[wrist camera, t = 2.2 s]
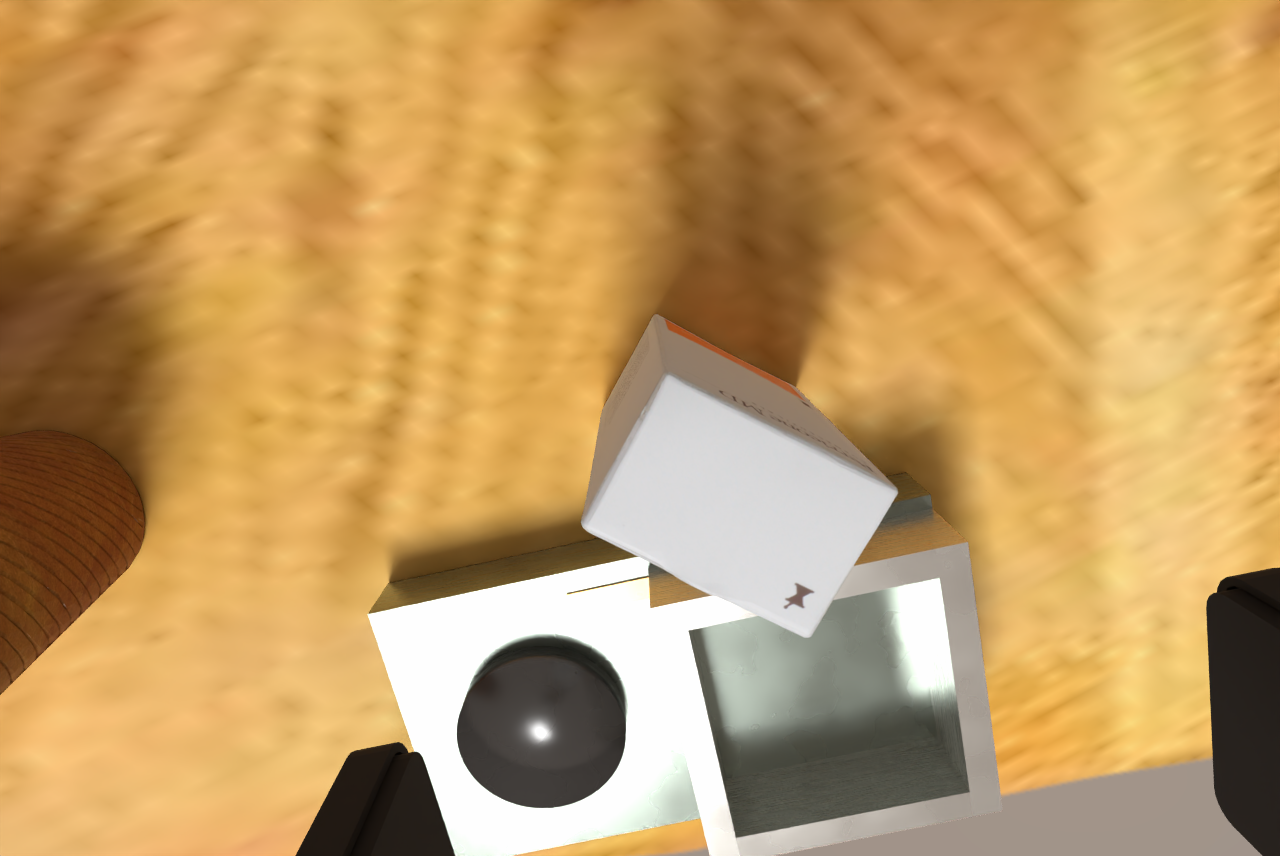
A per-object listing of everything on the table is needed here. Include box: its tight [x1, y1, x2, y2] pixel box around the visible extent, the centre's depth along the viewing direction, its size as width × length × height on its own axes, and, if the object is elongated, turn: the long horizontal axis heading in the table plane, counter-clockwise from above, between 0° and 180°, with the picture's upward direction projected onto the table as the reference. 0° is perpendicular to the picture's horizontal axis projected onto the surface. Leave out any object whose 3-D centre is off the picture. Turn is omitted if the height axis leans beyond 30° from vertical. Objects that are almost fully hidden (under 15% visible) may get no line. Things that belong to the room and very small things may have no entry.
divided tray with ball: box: [368, 473, 1003, 856], centre depth 29 cm, size 20×11×6 cm, turn 103°
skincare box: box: [581, 314, 898, 638], centre depth 23 cm, size 6×4×12 cm
